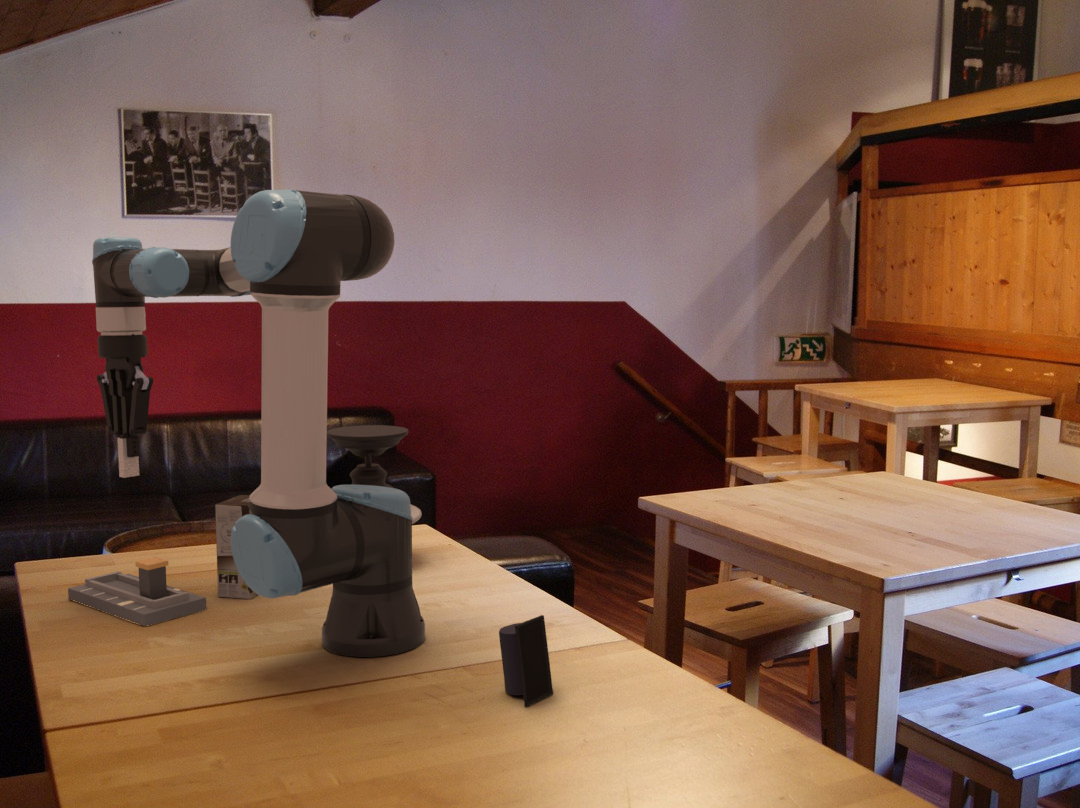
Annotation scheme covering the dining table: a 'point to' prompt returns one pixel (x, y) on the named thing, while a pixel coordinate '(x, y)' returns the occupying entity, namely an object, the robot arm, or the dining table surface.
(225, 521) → the coffee box
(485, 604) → the dining table surface
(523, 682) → the speaker
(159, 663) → the dining table surface
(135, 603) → the console board
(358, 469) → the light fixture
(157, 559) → the fader tab
